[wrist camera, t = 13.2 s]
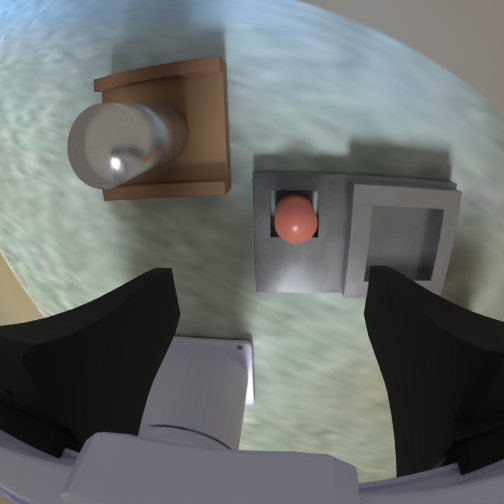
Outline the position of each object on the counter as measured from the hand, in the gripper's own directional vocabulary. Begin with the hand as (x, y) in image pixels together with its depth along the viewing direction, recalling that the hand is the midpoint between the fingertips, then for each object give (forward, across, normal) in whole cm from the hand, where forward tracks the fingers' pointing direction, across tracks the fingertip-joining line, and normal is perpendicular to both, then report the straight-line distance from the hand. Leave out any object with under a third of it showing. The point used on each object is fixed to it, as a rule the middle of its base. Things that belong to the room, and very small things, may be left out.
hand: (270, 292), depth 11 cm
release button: (+10, -1, 0) cm, 10 cm away
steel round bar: (+9, +7, -6) cm, 12 cm away
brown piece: (+10, +7, -6) cm, 13 cm away
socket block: (+10, -6, +1) cm, 11 cm away
